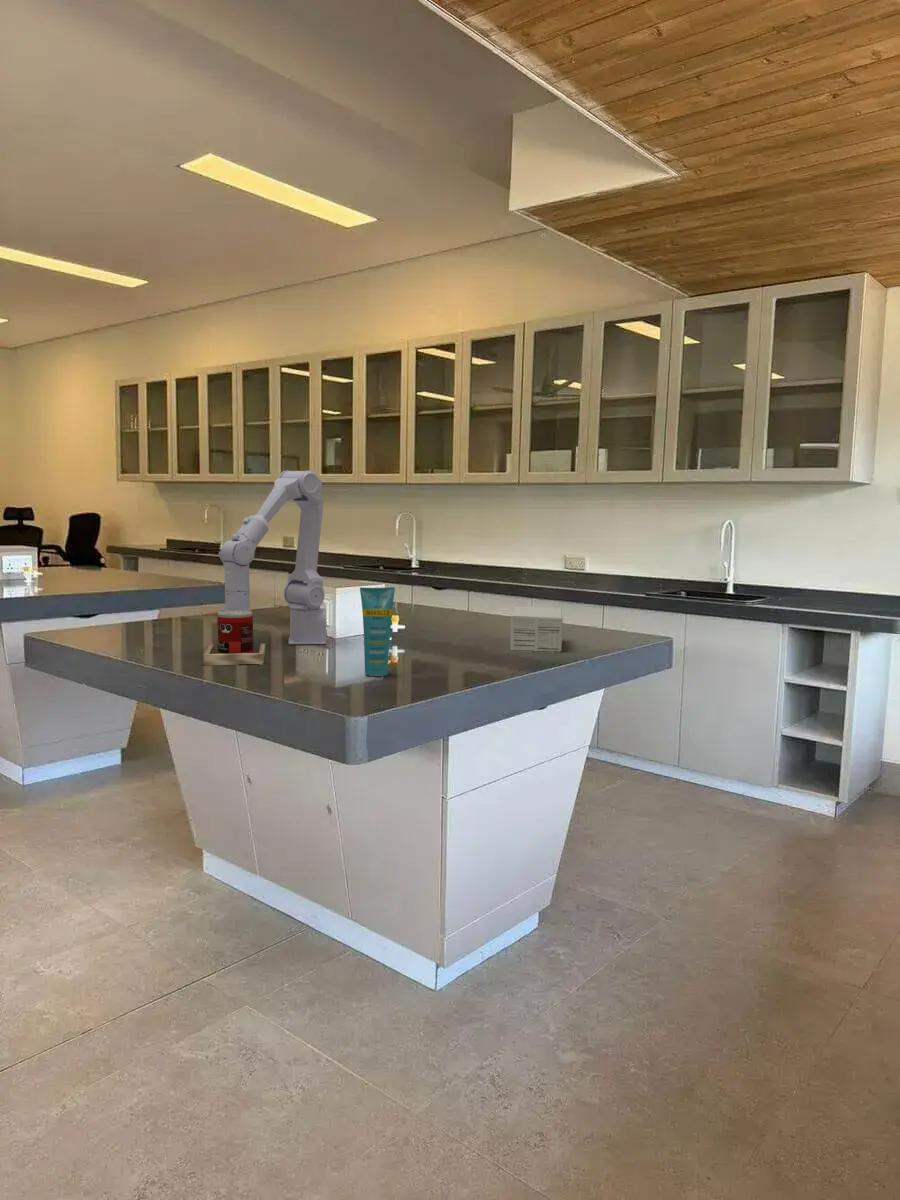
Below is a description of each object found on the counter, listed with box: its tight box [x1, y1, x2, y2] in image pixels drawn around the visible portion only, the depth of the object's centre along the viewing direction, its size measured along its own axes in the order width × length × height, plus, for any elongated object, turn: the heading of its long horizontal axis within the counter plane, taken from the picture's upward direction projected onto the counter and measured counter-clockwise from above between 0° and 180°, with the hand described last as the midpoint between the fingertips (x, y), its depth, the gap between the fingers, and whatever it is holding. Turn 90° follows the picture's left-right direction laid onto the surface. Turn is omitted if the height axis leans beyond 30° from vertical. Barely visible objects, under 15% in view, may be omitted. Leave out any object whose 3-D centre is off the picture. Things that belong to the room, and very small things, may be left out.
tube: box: [359, 586, 396, 677], centre depth 183 cm, size 7×5×19 cm, turn 106°
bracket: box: [203, 643, 266, 666], centre depth 198 cm, size 13×13×2 cm
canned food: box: [216, 610, 254, 654], centre depth 197 cm, size 8×8×11 cm
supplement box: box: [509, 605, 564, 652], centre depth 222 cm, size 17×13×9 cm
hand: (238, 646), depth 205 cm, fingers closed
